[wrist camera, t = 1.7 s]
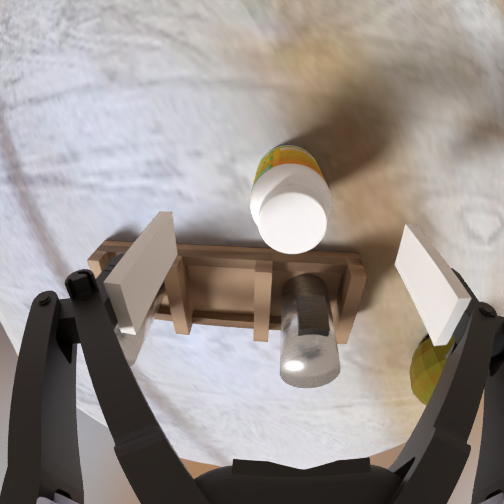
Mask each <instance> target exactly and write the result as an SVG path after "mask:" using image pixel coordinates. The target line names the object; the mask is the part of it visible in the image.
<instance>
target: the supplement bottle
mask: <svg viewBox="0 0 504 504" xmlns="http://www.w3.org/2000/svg"><path fill="white" fill-rule="evenodd" d="M331 205H332V201H331V195H330V191H329V188H328V185H327V183H326V181H325V179H324V176H323V175H322V172H321V170H320V168H319V166H318V164H317V162H316V160H315V159H314V157H313V156H312V155H311V154H310V153H309V152H308V151H306V150H304V149H303V148H300V147H298V146H293V145H284V146H279V147H276V148H274V149H272V150H270V151H269V152H267V153H266V154H265V155H264V157H263V158H262V159H261V161H260V163H259V165H258V168H257V172H256V176H255V180H254V184H253V188H252V192H251V198H250V209H251V214H252V217H253V219H254V221H255V223H256V224H257V226H258V228H259V232H260V234H261V236H262V238H263V240H264V241H265V242H266V243H267V244H268V245H269V246H270V247H271V248H273V249H275V250H277V251H279V252H282V253H287V254H298V253H303V252H306V251H308V250H310V249H312V248H314V247H315V246H316V245H317V244H318V243H319V242H320V241H321V240H322V239H323V237H324V235H325V233H326V229H327V220H328V218H329V215H330V212H331Z"/></svg>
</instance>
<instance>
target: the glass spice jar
mask: <svg viewBox="0 0 504 504" xmlns="http://www.w3.org/2000/svg"><path fill="white" fill-rule="evenodd" d="M165 294H166V288H165V283H164V281H163V283H162V285H161V287H160V289H159V290H158V292H157V294H156V296H155V298H154V300H153V302H152V304H151V306H150V308H149V310H148V312H147V314H146V316H145V318H144V320H143V322H142V324H141V327H140V329H139V331H138V333H137V335H133V334H127V333H121V330H120V328H119V325H118V323H117V325H116V327H115V329H114V331H115V333H116V336H117V338H118V341H119V343H120V345H121V348H122V350H123V352H124V355H125V357H126V359H127V362H128V364H129V366H132V365H133V364H134V363H135V361H136V359H137V357H138V354H139V352H140V350H141V347H142V345H143V343H144V340H145V338H146V336H147V334H148V331H149V329H150V327H151V325H152V322H153V320H154V318H155V316H156V314H157V312H158V309H159V307H160V305H161V303H162V301H163V299H164V297H165Z"/></svg>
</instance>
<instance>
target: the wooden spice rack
mask: <svg viewBox="0 0 504 504" xmlns="http://www.w3.org/2000/svg"><path fill="white" fill-rule="evenodd" d="M133 243H134V242H127V241H104V242H103V243H102V244H101V245H100V246H99V247H98V248H97V250H96V251H95V252H94V253H93V254H92V255H91V256H90V257H89V259H88V260H87V261H88V265H89V268H90V270H91V271H92V272H93V273H94V276H95V279H96V278H97V277H98V276H99V274H100V273H101V272H102V271H103V269H104V268H105V267H106V266H107V264H108V263H109V262H110V261H111V259H112V258H114V257H115V256H117V255H118V254H120V253H126V252H127V251H128V249H129V248H130V247H131V246H132V244H133ZM176 246H177V256H176V258H175V260H174V262H173V264H172V266H171V268H170V269H169V271H168V273H167V275H166V277H165V279H164V283H165V288H166V294H165V297H164V299H163V301H162V303H161V305H160V307H159V309H158V312H157V314H156V316H155V318H154V319H159V320H167V321H173V324H174V328H175V332H176V334H184V335H189V333H190V330H191V327H192V324H203V325H214V326H225V327H238V328H252V329H254V341H263V342H268V332H269V330H281V307H282V288H283V286H284V284H285V283H286V282H287V281H288V280H289V279H290V278H292V277H294V276H297V275H301V274H312V275H315V276H318V277H320V278H321V279H322V280H324V282H325V283H326V285H327V288H328V293H329V299H330V304H331V310H332V316H333V322H334V328H335V335H336V341H337V344H347V341H348V338H349V335H350V332H351V329H352V326H353V323H354V320H355V317H356V314H357V310H358V307H359V304H360V301H361V297H362V294H363V290H364V287H365V283H366V280H367V275H366V272H365V270H364V267H363V264H362V262H361V259H360V257H359V254H358V253H349V252H330V251H311V250H308V251H306V252H303V253H298V254H287V253H282V252H279V251H277V250H275V249H273V248H253V247H233V246H212V245H192V244H176Z"/></svg>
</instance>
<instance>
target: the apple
mask: <svg viewBox="0 0 504 504" xmlns="http://www.w3.org/2000/svg"><path fill="white" fill-rule="evenodd" d="M454 342H455V340H454V338H453V336H451V338H450V340H449V342H448V343H447V345H439V346H434V345H433V343H432V340H431V338H428V339H427V340H425V341H424V342H422V343H421V344H420V346H419V347H418V348H417V349H416V351H415V353H414V355H413V357H412V363H411V368H410V379H411V388H412V391H413V393H414V395H415V396H416V397H417V398H418V399H419V400H420V401H421V403H423V404H425V405H427V404H428V402H429V400H430V398H431V396H432V394H433V391H434V389H435V387H436V385H437V382H438V380H439V378H440V375H441V373H442V371H443V368H444V366H445V363H446V361H447V359H446V358H445V357H446V355H447V354H448V352H449V350H450V349H451V347H452V346H453V344H454Z"/></svg>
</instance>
